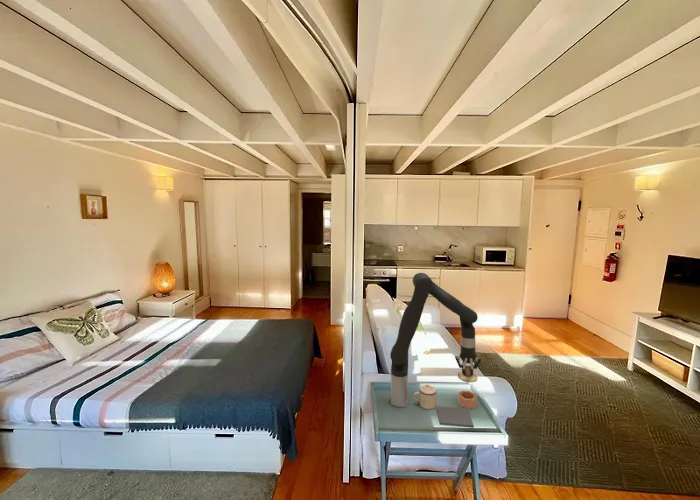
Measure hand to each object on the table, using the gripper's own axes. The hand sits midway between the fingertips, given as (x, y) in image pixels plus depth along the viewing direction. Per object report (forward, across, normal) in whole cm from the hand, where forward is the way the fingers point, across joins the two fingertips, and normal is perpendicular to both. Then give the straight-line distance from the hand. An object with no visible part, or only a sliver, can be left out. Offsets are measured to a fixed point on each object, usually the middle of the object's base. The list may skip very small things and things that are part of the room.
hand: (467, 375), depth 168 cm
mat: (+17, -9, -13) cm, 23 cm away
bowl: (+17, 0, 0) cm, 17 cm away
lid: (+2, 0, 0) cm, 2 cm away
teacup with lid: (+17, -23, -4) cm, 29 cm away
